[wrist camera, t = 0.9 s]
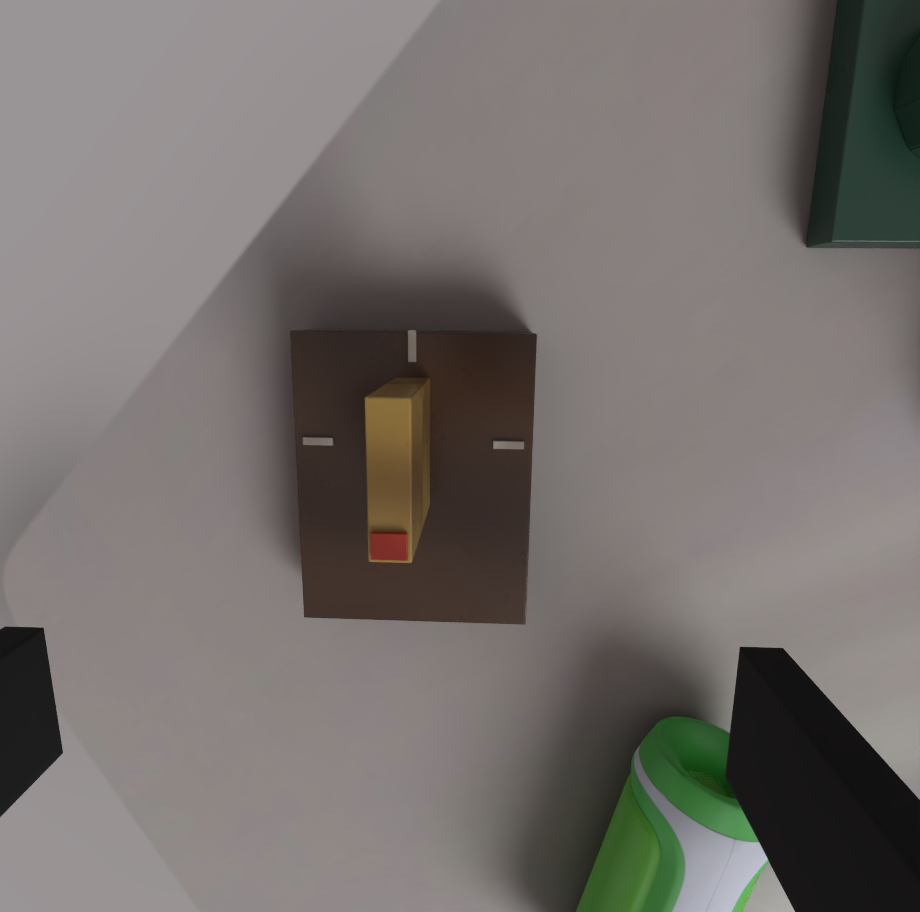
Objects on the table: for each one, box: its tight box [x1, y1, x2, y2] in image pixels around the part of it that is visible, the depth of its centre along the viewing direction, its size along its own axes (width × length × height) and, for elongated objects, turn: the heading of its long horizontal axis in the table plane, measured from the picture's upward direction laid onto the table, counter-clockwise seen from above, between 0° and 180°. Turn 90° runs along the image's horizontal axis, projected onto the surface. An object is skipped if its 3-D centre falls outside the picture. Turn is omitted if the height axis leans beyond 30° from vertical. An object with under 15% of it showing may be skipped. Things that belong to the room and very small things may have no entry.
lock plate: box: [290, 330, 537, 624], centre depth 30 cm, size 14×11×3 cm
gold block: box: [365, 378, 430, 563], centre depth 25 cm, size 6×2×7 cm, turn 179°
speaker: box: [576, 716, 769, 912], centre depth 32 cm, size 18×7×8 cm, turn 165°
